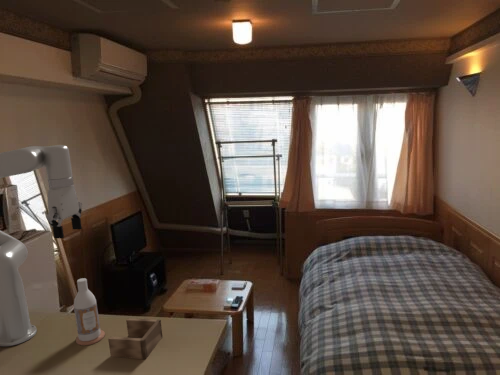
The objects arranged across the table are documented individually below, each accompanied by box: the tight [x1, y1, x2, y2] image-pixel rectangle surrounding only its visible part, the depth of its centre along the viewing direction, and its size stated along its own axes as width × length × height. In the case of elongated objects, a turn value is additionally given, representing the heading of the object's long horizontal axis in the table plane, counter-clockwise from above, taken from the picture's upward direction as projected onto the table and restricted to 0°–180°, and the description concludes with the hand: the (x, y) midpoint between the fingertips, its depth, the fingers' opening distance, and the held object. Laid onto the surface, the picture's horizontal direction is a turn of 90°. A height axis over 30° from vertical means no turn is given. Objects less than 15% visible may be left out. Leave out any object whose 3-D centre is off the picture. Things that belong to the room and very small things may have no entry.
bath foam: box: [73, 277, 101, 341], centre depth 136 cm, size 7×7×20 cm
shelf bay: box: [107, 317, 163, 360], centre depth 131 cm, size 12×12×6 cm
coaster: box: [75, 329, 106, 346], centre depth 138 cm, size 9×9×1 cm
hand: (68, 233), depth 139 cm, fingers open, 9 cm apart
